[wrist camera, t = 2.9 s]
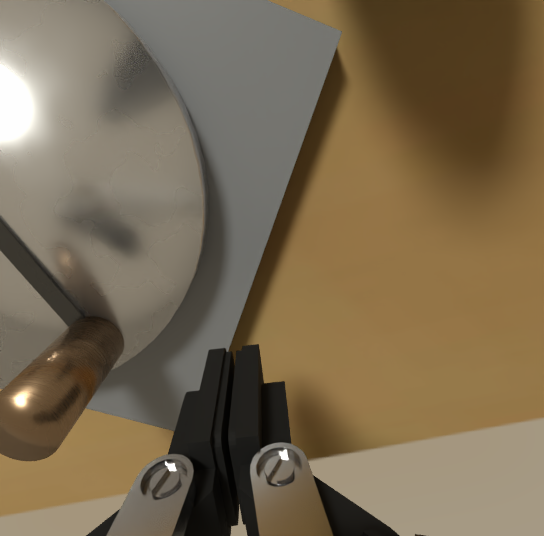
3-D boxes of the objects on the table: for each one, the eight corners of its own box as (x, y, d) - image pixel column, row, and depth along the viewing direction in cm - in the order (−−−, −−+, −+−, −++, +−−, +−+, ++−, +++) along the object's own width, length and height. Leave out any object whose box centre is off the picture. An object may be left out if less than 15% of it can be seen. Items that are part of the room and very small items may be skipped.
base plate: (334, 42, 15) (342, 30, 13) (202, 416, 21) (196, 439, 19) (-278, -213, 12) (-360, -265, 10) (-218, 305, 18) (-264, 320, 17)
